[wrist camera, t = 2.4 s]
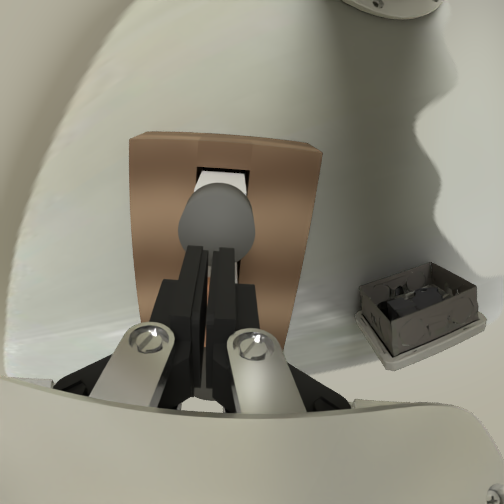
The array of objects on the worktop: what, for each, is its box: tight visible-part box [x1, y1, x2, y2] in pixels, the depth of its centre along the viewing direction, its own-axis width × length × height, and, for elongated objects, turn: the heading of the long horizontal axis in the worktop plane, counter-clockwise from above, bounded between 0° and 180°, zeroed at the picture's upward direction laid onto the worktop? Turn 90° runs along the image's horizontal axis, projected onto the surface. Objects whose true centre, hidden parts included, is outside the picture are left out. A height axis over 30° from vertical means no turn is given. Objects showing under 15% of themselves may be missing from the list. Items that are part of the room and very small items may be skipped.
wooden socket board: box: [129, 132, 323, 351], centre depth 22 cm, size 16×11×4 cm
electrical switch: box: [355, 262, 487, 371], centre depth 22 cm, size 9×5×9 cm, turn 107°
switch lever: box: [178, 171, 255, 266], centre depth 15 cm, size 3×3×6 cm
